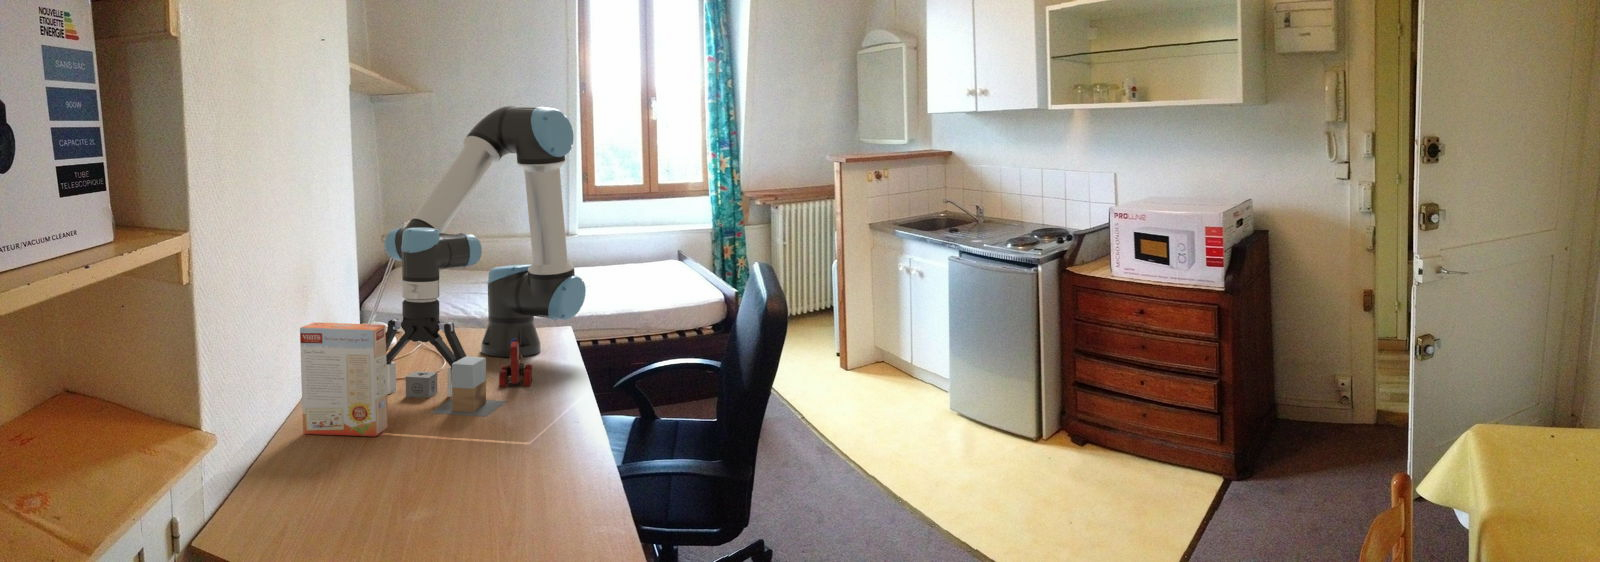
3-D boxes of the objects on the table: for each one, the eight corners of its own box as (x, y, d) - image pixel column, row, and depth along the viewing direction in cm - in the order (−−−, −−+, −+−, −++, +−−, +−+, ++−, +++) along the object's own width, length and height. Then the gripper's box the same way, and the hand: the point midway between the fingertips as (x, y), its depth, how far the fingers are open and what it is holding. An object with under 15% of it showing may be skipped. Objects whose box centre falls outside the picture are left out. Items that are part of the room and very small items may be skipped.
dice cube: (437, 394, 217) (437, 372, 217) (429, 400, 212) (428, 377, 212) (414, 393, 217) (414, 371, 217) (405, 399, 212) (405, 376, 212)
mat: (453, 399, 213) (453, 397, 213) (507, 403, 213) (507, 401, 212) (429, 414, 201) (429, 412, 201) (486, 418, 201) (486, 416, 201)
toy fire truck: (532, 377, 235) (532, 335, 234) (529, 390, 223) (530, 346, 222) (502, 377, 234) (502, 335, 232) (498, 391, 222) (498, 346, 220)
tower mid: (465, 379, 210) (465, 356, 209) (485, 380, 210) (485, 357, 209) (452, 387, 203) (451, 363, 202) (472, 388, 203) (472, 365, 202)
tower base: (466, 401, 211) (465, 379, 210) (485, 403, 210) (485, 380, 210) (452, 410, 204) (452, 387, 203) (472, 412, 203) (472, 388, 203)
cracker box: (389, 428, 191) (387, 323, 188) (375, 438, 185) (373, 329, 182) (317, 425, 191) (314, 320, 188) (301, 434, 185) (298, 326, 182)
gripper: (356, 298, 210) (357, 394, 213) (470, 305, 208) (469, 402, 211) (373, 293, 217) (375, 386, 220) (483, 299, 216) (483, 393, 219)
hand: (421, 394), depth 216 cm, fingers open, 13 cm apart
